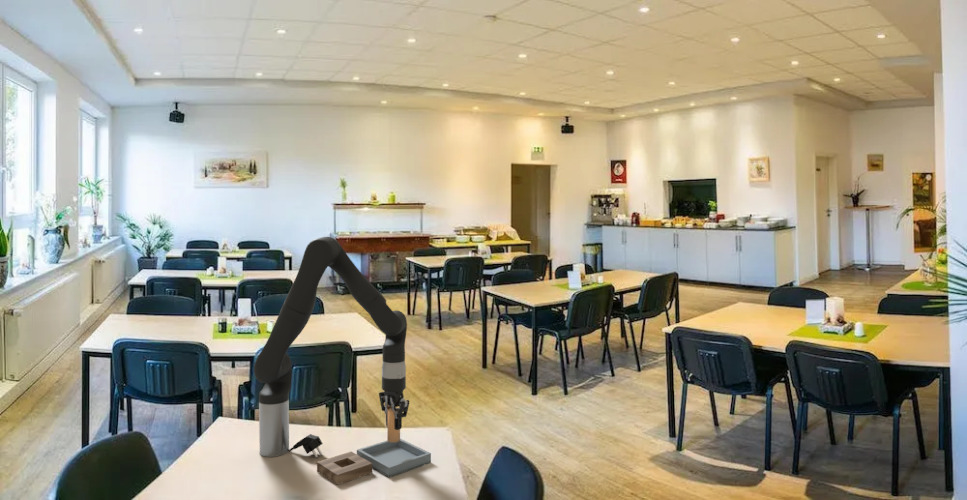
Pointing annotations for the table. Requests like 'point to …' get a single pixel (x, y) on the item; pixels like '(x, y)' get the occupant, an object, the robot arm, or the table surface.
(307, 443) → the power plug
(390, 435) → the orange plug
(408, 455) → the slate tray
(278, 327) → the robot arm
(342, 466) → the wooden square hole block
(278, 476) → the table surface
